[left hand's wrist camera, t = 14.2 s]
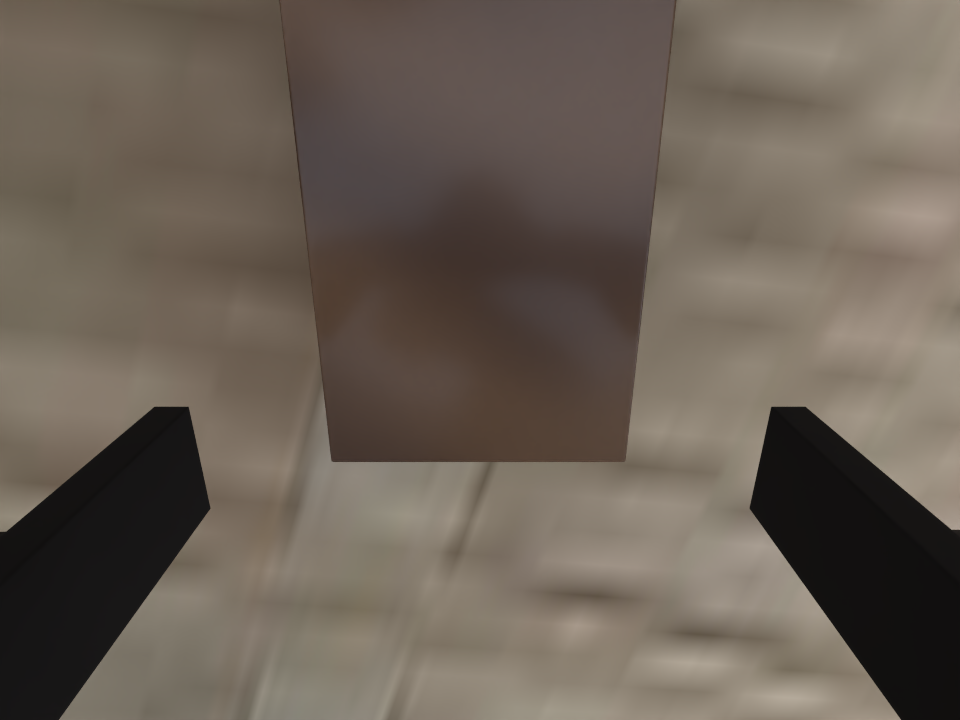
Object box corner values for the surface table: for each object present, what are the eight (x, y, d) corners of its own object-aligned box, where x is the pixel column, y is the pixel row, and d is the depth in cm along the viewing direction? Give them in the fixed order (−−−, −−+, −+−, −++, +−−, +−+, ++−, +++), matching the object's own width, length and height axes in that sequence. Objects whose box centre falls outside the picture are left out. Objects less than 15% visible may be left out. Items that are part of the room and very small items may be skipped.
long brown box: (356, -32, 24) (260, -160, 14) (601, -32, 24) (695, -160, 14) (382, 349, 30) (331, 462, 20) (575, 349, 30) (625, 462, 20)
